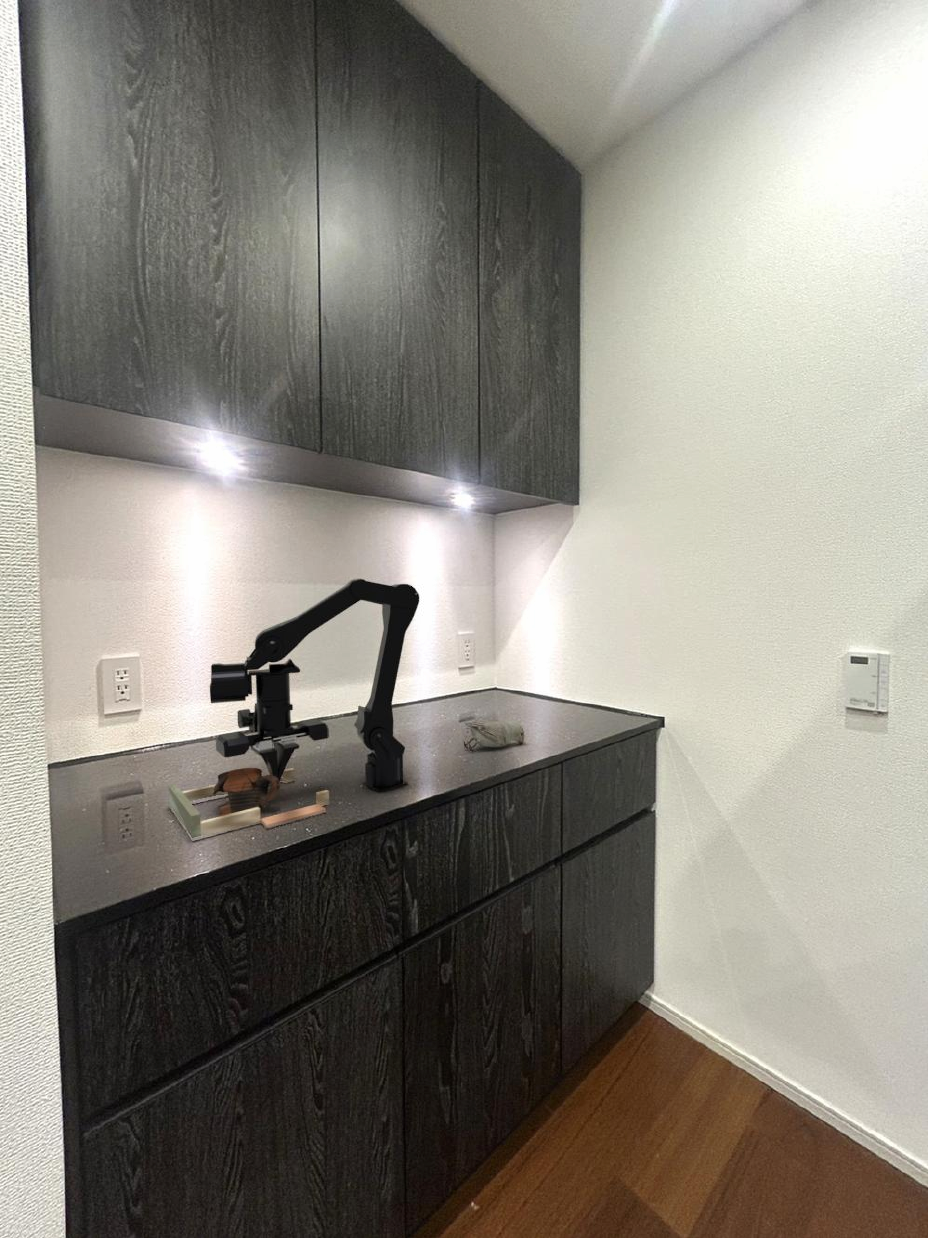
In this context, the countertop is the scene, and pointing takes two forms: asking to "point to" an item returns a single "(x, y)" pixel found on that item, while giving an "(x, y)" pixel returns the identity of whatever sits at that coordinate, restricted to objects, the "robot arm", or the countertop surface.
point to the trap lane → (197, 828)
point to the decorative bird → (495, 733)
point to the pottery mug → (246, 789)
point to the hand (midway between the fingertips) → (276, 783)
